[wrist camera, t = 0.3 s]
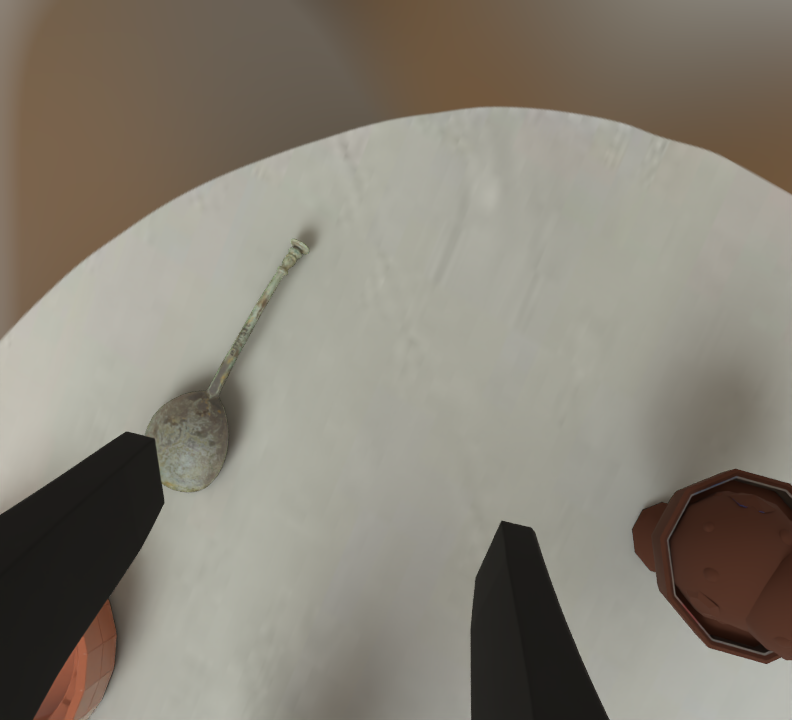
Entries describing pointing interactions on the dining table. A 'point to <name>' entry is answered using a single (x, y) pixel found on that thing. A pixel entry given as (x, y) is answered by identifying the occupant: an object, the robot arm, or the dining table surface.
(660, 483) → the dining table surface
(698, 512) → the brown rounded tall piece
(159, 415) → the soupspoon
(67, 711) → the clay bowl
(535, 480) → the dining table surface
